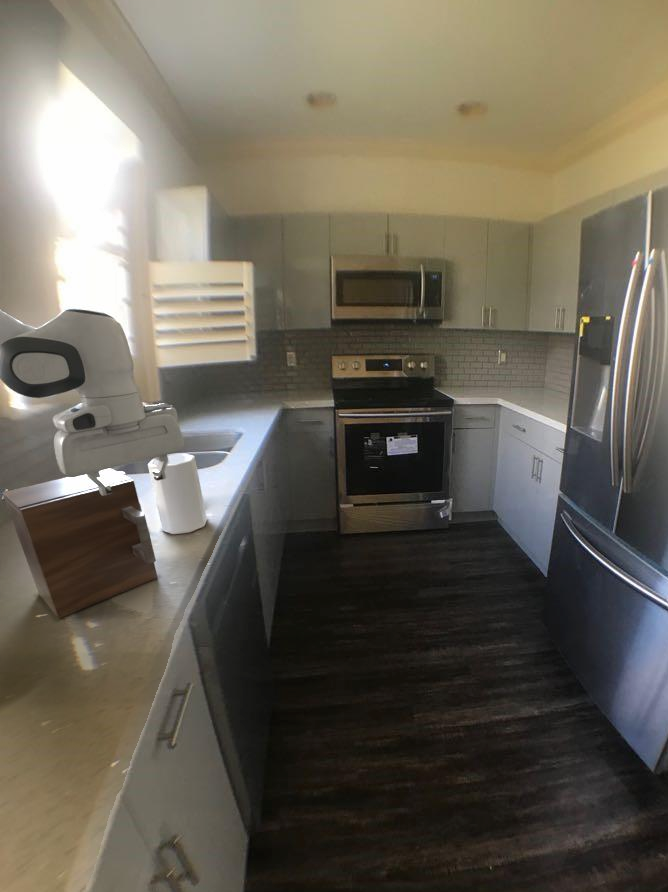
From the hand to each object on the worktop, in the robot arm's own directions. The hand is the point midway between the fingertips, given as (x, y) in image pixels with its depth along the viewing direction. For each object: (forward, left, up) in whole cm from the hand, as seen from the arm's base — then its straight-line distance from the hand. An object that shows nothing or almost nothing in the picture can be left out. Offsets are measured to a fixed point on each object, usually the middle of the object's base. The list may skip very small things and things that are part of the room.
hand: (134, 486), depth 83 cm
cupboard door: (-7, +4, -23) cm, 24 cm away
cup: (+19, +28, -23) cm, 41 cm away
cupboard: (-7, +14, -23) cm, 28 cm away
